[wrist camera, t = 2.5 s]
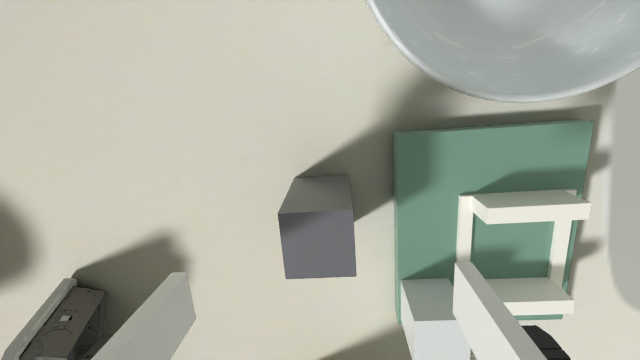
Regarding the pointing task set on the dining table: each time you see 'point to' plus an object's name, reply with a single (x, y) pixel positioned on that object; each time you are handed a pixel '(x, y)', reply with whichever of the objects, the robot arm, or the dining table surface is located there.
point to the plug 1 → (318, 228)
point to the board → (493, 208)
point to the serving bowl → (515, 44)
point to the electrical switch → (61, 325)
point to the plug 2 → (432, 321)
